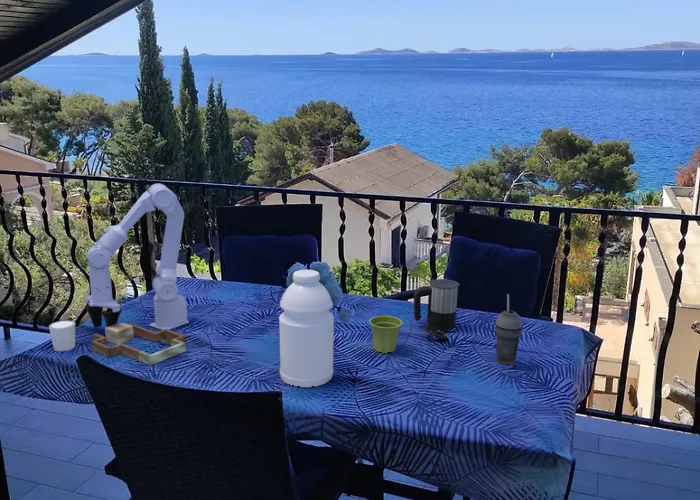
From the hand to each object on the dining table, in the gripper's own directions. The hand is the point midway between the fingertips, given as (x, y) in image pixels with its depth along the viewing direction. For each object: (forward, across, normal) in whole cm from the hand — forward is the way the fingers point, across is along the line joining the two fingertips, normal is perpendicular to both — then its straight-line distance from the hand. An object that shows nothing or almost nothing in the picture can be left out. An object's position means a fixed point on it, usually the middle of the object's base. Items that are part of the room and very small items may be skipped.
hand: (104, 329), depth 188 cm
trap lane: (+1, +16, 0) cm, 16 cm away
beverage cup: (+2, +106, +52) cm, 118 cm away
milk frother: (+2, +80, +63) cm, 102 cm away
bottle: (+2, +67, +14) cm, 68 cm away
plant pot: (+2, +74, +41) cm, 85 cm away
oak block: (+2, +7, 0) cm, 8 cm away
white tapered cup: (+2, 0, -13) cm, 13 cm away
